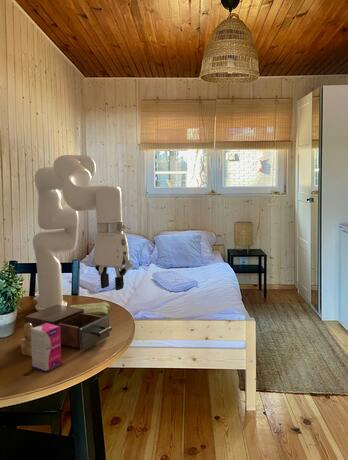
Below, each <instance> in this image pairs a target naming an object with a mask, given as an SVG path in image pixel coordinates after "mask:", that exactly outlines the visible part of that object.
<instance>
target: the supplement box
mask: <svg viewBox="0 0 348 460" xmlns="http://www.w3.org/2000/svg"><path fill="white" fill-rule="evenodd" d="M31 342H32V356H31V363H32V364H31V365H32V369H35V370H38V371H41V372H43V373H47V372H49V371H51V370H53V369H55V368H57V367H59V366H61V365H62V344H61V338H60V326H56V325H52V324H49V323H45V324H43V325H40V326H37V327H34V328H32V329H31Z"/></svg>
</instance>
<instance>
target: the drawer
mask: <svg viewBox="0 0 348 460" xmlns="http://www.w3.org/2000/svg"><path fill="white" fill-rule="evenodd" d="M55 325H56V326H60V338H61V345H65V346H69V347H72V348H79V351H86V350H87V349H89V348H90V347H92V346H94V345H96V344H98V343H100V342H101V341H103V340H105V339H107V338H109V337H110V336H111V334H110V333H111V332H112V330H113V327H112V326H110V316H109V315H107V316H105V317H102V316H98V315H92V314H86V313H79V314H76V315H74V316H72V317H69V318H67V319H65V320H62V321H60V322H58V323H55Z"/></svg>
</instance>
